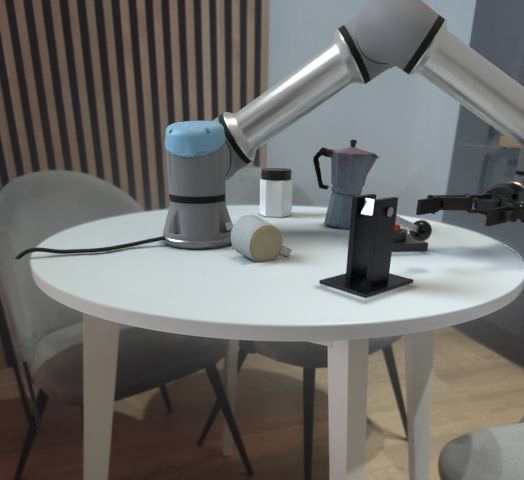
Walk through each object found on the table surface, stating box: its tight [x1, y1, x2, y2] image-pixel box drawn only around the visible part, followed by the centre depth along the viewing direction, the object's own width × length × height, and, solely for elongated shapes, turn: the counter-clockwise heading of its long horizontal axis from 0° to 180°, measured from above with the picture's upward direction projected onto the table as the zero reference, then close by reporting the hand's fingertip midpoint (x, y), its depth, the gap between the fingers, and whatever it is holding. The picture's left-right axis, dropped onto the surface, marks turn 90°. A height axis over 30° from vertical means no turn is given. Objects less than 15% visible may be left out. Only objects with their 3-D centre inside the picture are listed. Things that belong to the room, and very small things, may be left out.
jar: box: [259, 167, 294, 218], centre depth 136 cm, size 9×8×12 cm
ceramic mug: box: [231, 214, 292, 263], centre depth 92 cm, size 11×8×8 cm
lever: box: [361, 198, 433, 242], centre depth 78 cm, size 17×4×4 cm, turn 130°
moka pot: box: [312, 139, 380, 230], centre depth 120 cm, size 10×15×20 cm, turn 89°
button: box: [394, 224, 401, 232], centre depth 100 cm, size 4×4×2 cm
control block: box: [392, 227, 429, 253], centre depth 101 cm, size 12×10×4 cm
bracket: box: [318, 193, 414, 299], centre depth 76 cm, size 12×9×14 cm
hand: (451, 212), depth 88 cm, fingers open, 13 cm apart
